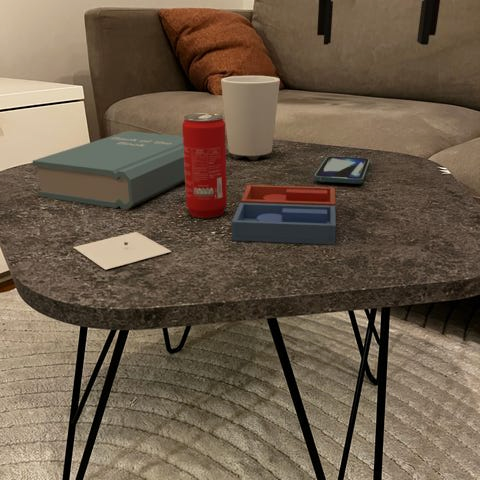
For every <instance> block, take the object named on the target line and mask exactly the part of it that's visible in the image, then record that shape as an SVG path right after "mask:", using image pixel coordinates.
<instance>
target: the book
mask: <svg viewBox="0 0 480 480" xmlns="http://www.w3.org/2000/svg"><path fill="white" fill-rule="evenodd" d="M31 162H32V166H33V167H36V170H37V176H38V182H39V189H40V190H38V191H37V195H38V197H40V198H46V199H47V198H48V199H52V200H53V199H55V200H61V201H68V202H74V203H80V204H86V205H93V206H99V207H105V208H113V209H118V208H120V209H121V210H126V211H128V210H130V209H132V208H134V207H136V206H138V205H140V204H142V203H144V202H146V201H148V200H150V199H152V198H154V197H156V196H159V195H161V194H163V193H164V192H166V191H168V190H171V189H172V188H174V187H176V186H178V185H180V184H183V183H185V167H184V148H183V135H174V134H164V133H162V134H161V133H153V132H151V133H150V132H142V131H141V132H140V131H130V130H126V131H123V132H119V133H117V134H114V135H113V134H112V135H111V136H107V137H104V138H100V139H97V140H95V141H91V142H88V143H85V144H82V145H78V146H76V147H72V148H69V149H66V150H62V151H59V152H56V153H52V154H49V155H47V156H43V157H39V158H37V159H33V160H32V161H31Z"/></svg>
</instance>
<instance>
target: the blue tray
mask: <svg viewBox="0 0 480 480" xmlns="http://www.w3.org/2000/svg"><path fill="white" fill-rule="evenodd" d="M283 208H288V209H318V210H327V224H325V223H298V222H271V221H257V217H258V216H259V215H262V214H269V213H272V214H280V215H282V210H283ZM336 231H337V214H336V205H335V206H325V205H295V204H266V203H241V202H239V204H238V206H237V209H236V211H235V213H234V216H233V218H232V220H231V241H233V242H254V243H255V242H257V243H259V242H261V243H280V244H283V243H284V244H304V245H305V244H309V245H331V246H332V245H334V246H335V245H336V233H337V232H336Z"/></svg>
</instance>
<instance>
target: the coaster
mask: <svg viewBox="0 0 480 480" xmlns="http://www.w3.org/2000/svg"><path fill="white" fill-rule="evenodd" d="M72 248H73V249H75V250H76V251H78V252H79V253H80V254H82V255H83V256H85V257H86V258H88V259H89V260H91V261H92V262H93V263H95V264H96V265H98V266H99V267H100V268H102V269H104V270H105V271H106V270H109V269H113V268H117V267H120V266H124V265H129V264H132V263H135V262H140V261H142V260H145V259H150V258H154V257H157V256H161V255H165V254H167V253H171V252H173V251H172V250H170V249H169V248H167V247H165V246H163V245H161V244H160V243H157V242H155V241H154V240H152V239H150V238H148V237H146V236H145V235H143V234H141V233H139V232H138V231H134V232H130V233H126V234H121V235H118V236H113V237H109V238H106V239H101V240H95V241H93V242H89V243H84V244H81V245H77V246H76V245H75V246H73V247H72Z"/></svg>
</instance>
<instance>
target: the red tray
mask: <svg viewBox="0 0 480 480" xmlns="http://www.w3.org/2000/svg"><path fill="white" fill-rule="evenodd" d="M287 189H301V190H327V202H309V201H279V200H263V197H264V196H266V195H270V194H282V195H286V191H287ZM240 203H266V204H295V205H325V206H335V207H336V188H335V187H334V186H333V187H331V186H330V187H329V186H299V185H298V186H297V185H265V184H247V186H246V188H245V189H244V193H243V195H242V197H241V199H240Z"/></svg>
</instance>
